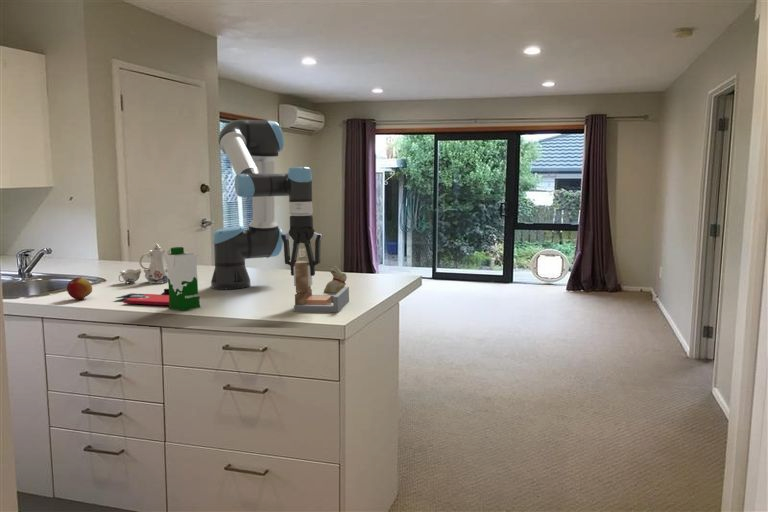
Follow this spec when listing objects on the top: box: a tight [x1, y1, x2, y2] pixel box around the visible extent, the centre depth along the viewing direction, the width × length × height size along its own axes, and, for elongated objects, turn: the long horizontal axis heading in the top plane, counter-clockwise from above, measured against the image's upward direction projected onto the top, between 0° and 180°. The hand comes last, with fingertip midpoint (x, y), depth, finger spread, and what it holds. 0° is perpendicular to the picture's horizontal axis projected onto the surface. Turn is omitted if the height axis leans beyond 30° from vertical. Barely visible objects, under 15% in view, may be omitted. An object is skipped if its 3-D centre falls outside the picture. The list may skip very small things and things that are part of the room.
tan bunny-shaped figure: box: [323, 265, 348, 294], centre depth 226 cm, size 6×8×10 cm
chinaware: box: [118, 243, 171, 284], centre depth 254 cm, size 28×17×17 cm, turn 143°
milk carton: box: [165, 246, 201, 312], centre depth 199 cm, size 9×9×20 cm
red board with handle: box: [116, 288, 201, 306], centre depth 212 cm, size 30×3×15 cm
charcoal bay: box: [293, 286, 350, 313], centre depth 200 cm, size 14×18×5 cm
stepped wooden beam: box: [294, 260, 313, 305], centre depth 200 cm, size 4×10×14 cm, turn 172°
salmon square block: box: [306, 296, 333, 305], centre depth 201 cm, size 7×7×3 cm
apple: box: [66, 276, 93, 301], centre depth 217 cm, size 8×8×8 cm
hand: (303, 285), depth 200 cm, fingers closed on stepped wooden beam, 4 cm apart
